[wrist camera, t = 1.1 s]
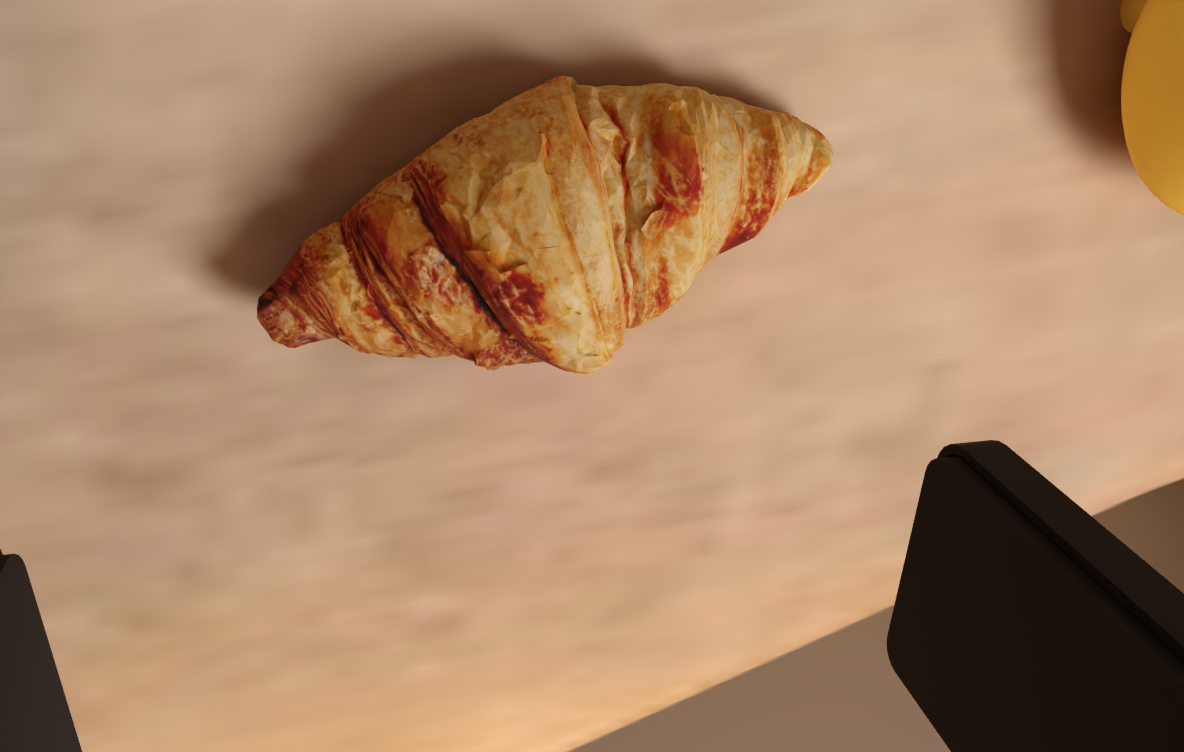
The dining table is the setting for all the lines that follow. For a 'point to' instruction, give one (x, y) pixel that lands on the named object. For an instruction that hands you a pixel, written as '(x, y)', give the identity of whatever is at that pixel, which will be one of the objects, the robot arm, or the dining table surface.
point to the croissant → (546, 226)
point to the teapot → (1155, 95)
